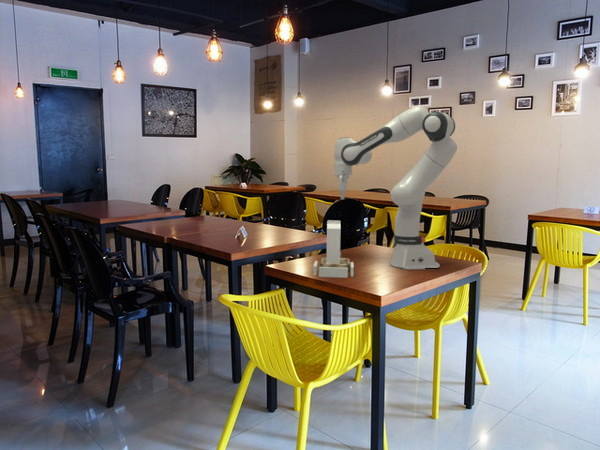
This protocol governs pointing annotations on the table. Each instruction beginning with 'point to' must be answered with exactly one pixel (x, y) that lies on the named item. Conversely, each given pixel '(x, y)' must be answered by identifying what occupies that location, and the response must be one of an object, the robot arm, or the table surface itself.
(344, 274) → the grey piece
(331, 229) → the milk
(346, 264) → the frame
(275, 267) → the table surface
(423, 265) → the robot arm
